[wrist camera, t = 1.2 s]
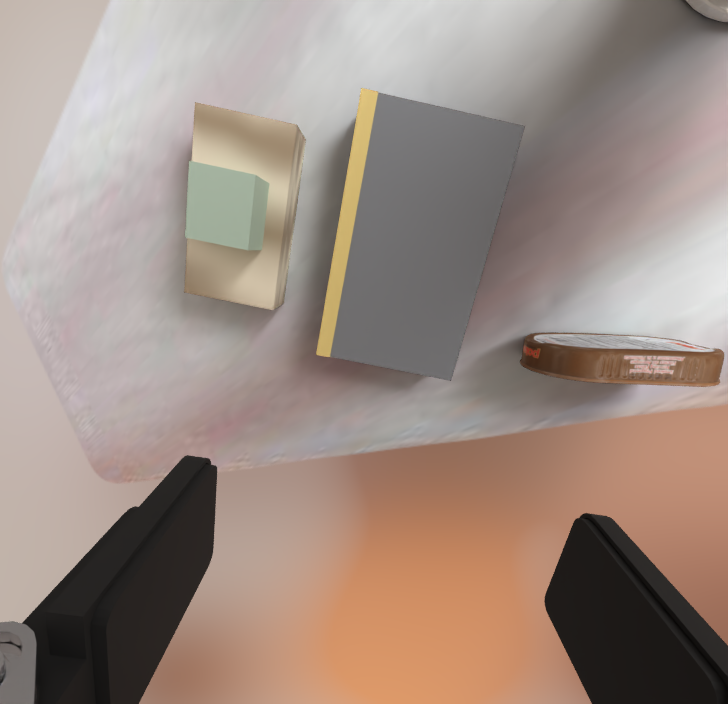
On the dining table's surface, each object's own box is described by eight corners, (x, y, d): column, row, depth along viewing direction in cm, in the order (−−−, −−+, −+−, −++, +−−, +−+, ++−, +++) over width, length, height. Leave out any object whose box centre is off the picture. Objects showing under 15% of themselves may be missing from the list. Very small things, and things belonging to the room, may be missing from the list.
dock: (362, 110, 29) (361, 87, 25) (504, 142, 29) (525, 125, 25) (322, 342, 34) (316, 354, 30) (442, 366, 35) (451, 381, 31)
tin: (505, 356, 35) (546, 389, 26) (510, 324, 34) (554, 348, 26) (660, 361, 34) (749, 396, 26) (669, 330, 34) (764, 356, 25)
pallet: (217, 121, 30) (195, 102, 26) (306, 140, 30) (296, 124, 26) (205, 287, 33) (184, 292, 30) (284, 303, 34) (273, 310, 30)
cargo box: (211, 171, 27) (189, 160, 24) (269, 183, 27) (255, 174, 24) (206, 238, 28) (184, 237, 25) (262, 250, 29) (247, 250, 25)
